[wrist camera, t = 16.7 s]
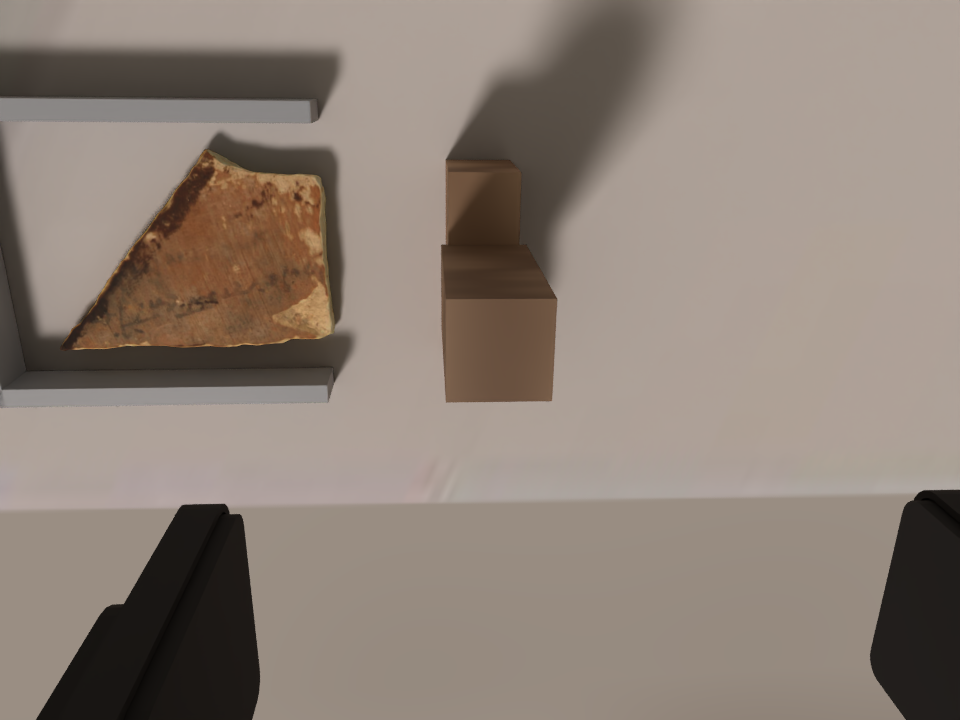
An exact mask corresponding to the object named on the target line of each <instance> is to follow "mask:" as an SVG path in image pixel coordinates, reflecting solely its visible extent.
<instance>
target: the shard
mask: <svg viewBox="0 0 960 720" xmlns="http://www.w3.org/2000/svg"><path fill="white" fill-rule="evenodd" d="M325 206H326V196H325V193H324V188H323V186H322V182H321V178H320V177H319V176H317V175H308V174H290V175H287V174H275V173H262V172H252V171H249V170H246V169H244V168H242V167H240V166H239V165H237V164H236V163H234V162H231V161H229V160H228V159H226V158H225V157H223V156H221V155H219V154H217V153H216V152H213V151H210V150H208V149H206V150H204V152H203V153H202V154H201V155H200V158H199V160H198V162H197V164H196V165H195V166H194V167H193V168H192V169H191V171H190V173H189V175H188V176H187V178H186V179H185V180H184V181H183V182H182V183H181V184H180V185H179V186H178V187H177V189H176V190H175V191H174V193H173V195H172V197H171V198H170V199H169V201H168V202H167V204H166V205H165V207H164V208H163V209H162V210H161V211H160V212H159V213H158V214H157V216H156V217H155V219H154V220H153V221H152V223H151V225H150V226H149V228H148V229H147V230H146V231H145V233H144V234H143V235H142V236H141V238H140V239H139V240H138V241H136V243H135V244H134V246H133V247H132V248H131V249H130V250H129V252H128V254H127V256H126V257H125V258H124V259H123V260H122V261H121V263H120V265H119V266H118V267H117V269H116V270H115V272H114V273H113V274H112V276H111V277H110V278H109V280H108V281H107V283H106V285H105V287H104V289H103V290H102V292H101V293H100V294H99V296H98V298H97V301H96V303H95V305H94V306H93V307H92V308H91V310H90V311H89V313H88V314H87V315H86V316H85V317H84V319H83V320H82V322H81V323H80V324H78V325H76V326H75V327H74V328H72V330H71V332H70V334H69V335H68V337H67V338H66V339H65V341H64V342H63V344H62V346H61V347H60V349H61V350H63V351H66V350H69V349H70V350H81V349H109V348H116V347H122V346H127V345H128V346H152V345H154V346H170V347H183V348H184V347H200V346H215V347H231V346H240V345H243V344H247V345H256V346H257V345H262V344H272V343H284V342H286V341H288V340H290V339H320V338H323V337H325V336H327V335H329V334H333V333H334V328H335V320H334V312H333V308H332V298H331V290H330V282H329V267H328V261H327V248H326V227H327V223H326V214H325Z"/></svg>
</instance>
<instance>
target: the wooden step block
mask: <svg viewBox="0 0 960 720" xmlns="http://www.w3.org/2000/svg"><path fill="white" fill-rule="evenodd" d="M520 203H521V172H520V170H519V169H518V168H517V167H516V166H515V165H514V164H513V163H512V162H511V161H510V160H446V245H441V297H442V342H443V359H444V376H445V394H446V402H515V401H552V391H553V371H554V351H555V331H556V311H557V298H556V296H555V294H554V292H553V291H552V289H551V287H550V285H549V284H548V282H547V280H546V278H545V277H544V275H543V273H542V271H541V270H540V268H539V266H538V265H537V263H536V261H535V259H534V258H533V256H532V254H531V252H530V251H529V249H528V247H527V245H519V234H520Z"/></svg>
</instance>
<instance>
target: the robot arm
mask: <svg viewBox="0 0 960 720" xmlns="http://www.w3.org/2000/svg"><path fill="white" fill-rule="evenodd" d="M870 661H871V666H872V670H873V673H874V675H875V677H876V679H877V681H878V682H879V683H880V685H881V686H882V687H883V689H884V690H885V692H886V693H887V694H888V696H889V697H890V698H891V700H892V701H893V703H894V704H895V705H896V707H897V708H898V709H899V711H900V712H901V713H902V715H903V716H904V718H905V719H906V720H960V490H924V491H922V492H919V493H918V494H917V496H916V497H915V498H914V501H910V502H908V503H907V504H906V505H905V507H904V510H903V513H902V517H901V522H900V526H899V530H898V535H897V539H896V543H895V547H894V552H893V556H892V560H891V565H890V569H889V573H888V578H887V582H886V586H885V591H884V595H883V599H882V604H881V608H880V612H879V617H878V621H877V625H876V630H875V634H874V638H873V643H872V647H871V653H870ZM259 685H260V668H259V659H258V650H257V641H256V633H255V624H254V613H253V604H252V595H251V586H250V577H249V567H248V558H247V549H246V540H245V531H244V524H243V519H242V516H241V515H240V514H229V510H228V507H227V506H226V505H225V504H192V505H182V506H181V507H180V508H179V510H178V511H177V513H176V515H175V517H174V518H173V520H172V522H171V524H170V525H169V527H168V529H167V530H166V532H165V534H164V536H163V537H162V539H161V541H160V543H159V544H158V546H157V548H156V550H155V551H154V553H153V555H152V556H151V558H150V560H149V561H148V563H147V565H146V567H145V568H144V570H143V572H142V574H141V575H140V577H139V579H138V581H137V583H136V584H135V586H134V588H133V589H132V591H131V593H130V595H129V596H128V598H127V600H126V601H125V603H124V604H117V605H111V606H109V607H106V608H105V610H104V611H103V612H102V613H101V615H100V616H99V617H98V619H97V621H96V622H95V624H94V626H93V627H92V629H91V631H90V632H89V634H88V635H87V637H86V639H85V640H84V642H83V644H82V645H81V647H80V648H79V650H78V652H77V654H76V655H75V657H74V658H73V660H72V662H71V663H70V665H69V666H68V668H67V670H66V671H65V673H64V675H63V676H62V678H61V680H60V681H59V683H58V685H57V686H56V688H55V689H54V691H53V693H52V694H51V696H50V698H49V699H48V701H47V703H46V704H45V706H44V708H43V709H42V711H41V712H40V714H39V716H38V717H37V719H36V720H252V718H253V714H254V711H255V707H256V704H257V700H258V695H259Z"/></svg>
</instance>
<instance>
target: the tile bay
mask: <svg viewBox="0 0 960 720" xmlns="http://www.w3.org/2000/svg"><path fill="white" fill-rule="evenodd" d="M317 120H318V106H317V99H255V98H146V97H37V96H0V121H55V122H193V123H313V122H315V121H317ZM333 385H334V379H333V368H254V369H173V370H92V371H26V367H25V362H24V357H23V352H22V348H21V343H20V338H19V333H18V328H17V323H16V318H15V313H14V309H13V304H12V299H11V294H10V289H9V284H8V279H7V274H6V270H5V265H4V260H3V255H2V250H1V245H0V408H14V407H80V406H146V405H212V404H278V403H328V402H329V398H330V395H331V392H332V388H333Z"/></svg>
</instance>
